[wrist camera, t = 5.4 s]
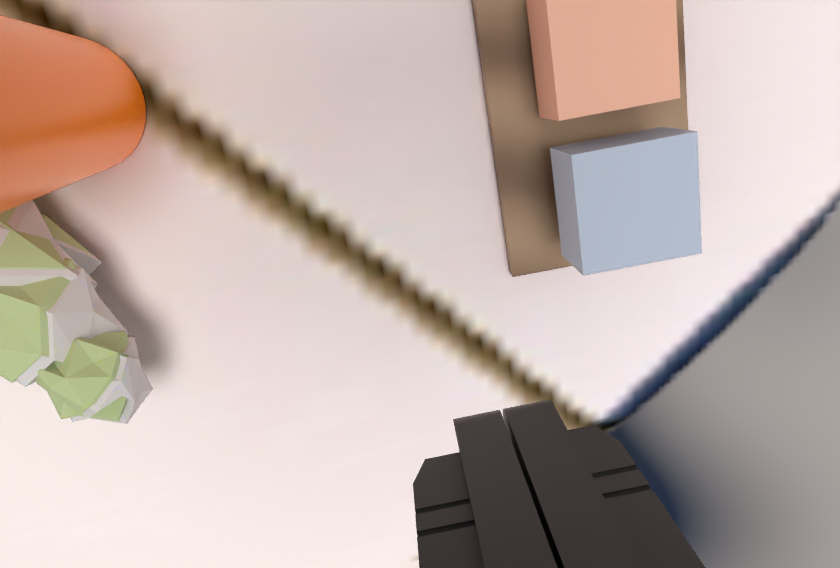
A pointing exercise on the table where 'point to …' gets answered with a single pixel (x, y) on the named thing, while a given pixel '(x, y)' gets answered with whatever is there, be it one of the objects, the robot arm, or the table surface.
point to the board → (542, 132)
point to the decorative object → (62, 323)
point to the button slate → (628, 199)
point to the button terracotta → (602, 55)
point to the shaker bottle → (61, 110)
